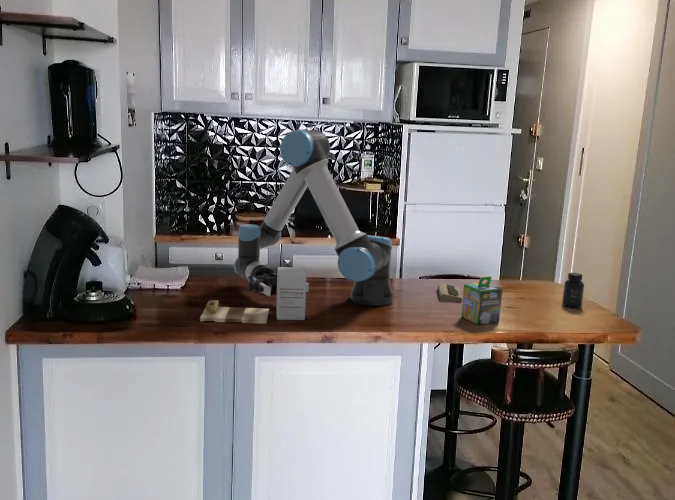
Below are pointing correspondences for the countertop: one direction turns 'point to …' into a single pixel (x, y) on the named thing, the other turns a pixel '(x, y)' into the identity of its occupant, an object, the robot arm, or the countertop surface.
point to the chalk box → (481, 302)
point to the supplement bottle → (573, 291)
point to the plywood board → (233, 314)
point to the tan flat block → (449, 293)
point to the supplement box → (291, 293)
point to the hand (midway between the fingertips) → (288, 290)
